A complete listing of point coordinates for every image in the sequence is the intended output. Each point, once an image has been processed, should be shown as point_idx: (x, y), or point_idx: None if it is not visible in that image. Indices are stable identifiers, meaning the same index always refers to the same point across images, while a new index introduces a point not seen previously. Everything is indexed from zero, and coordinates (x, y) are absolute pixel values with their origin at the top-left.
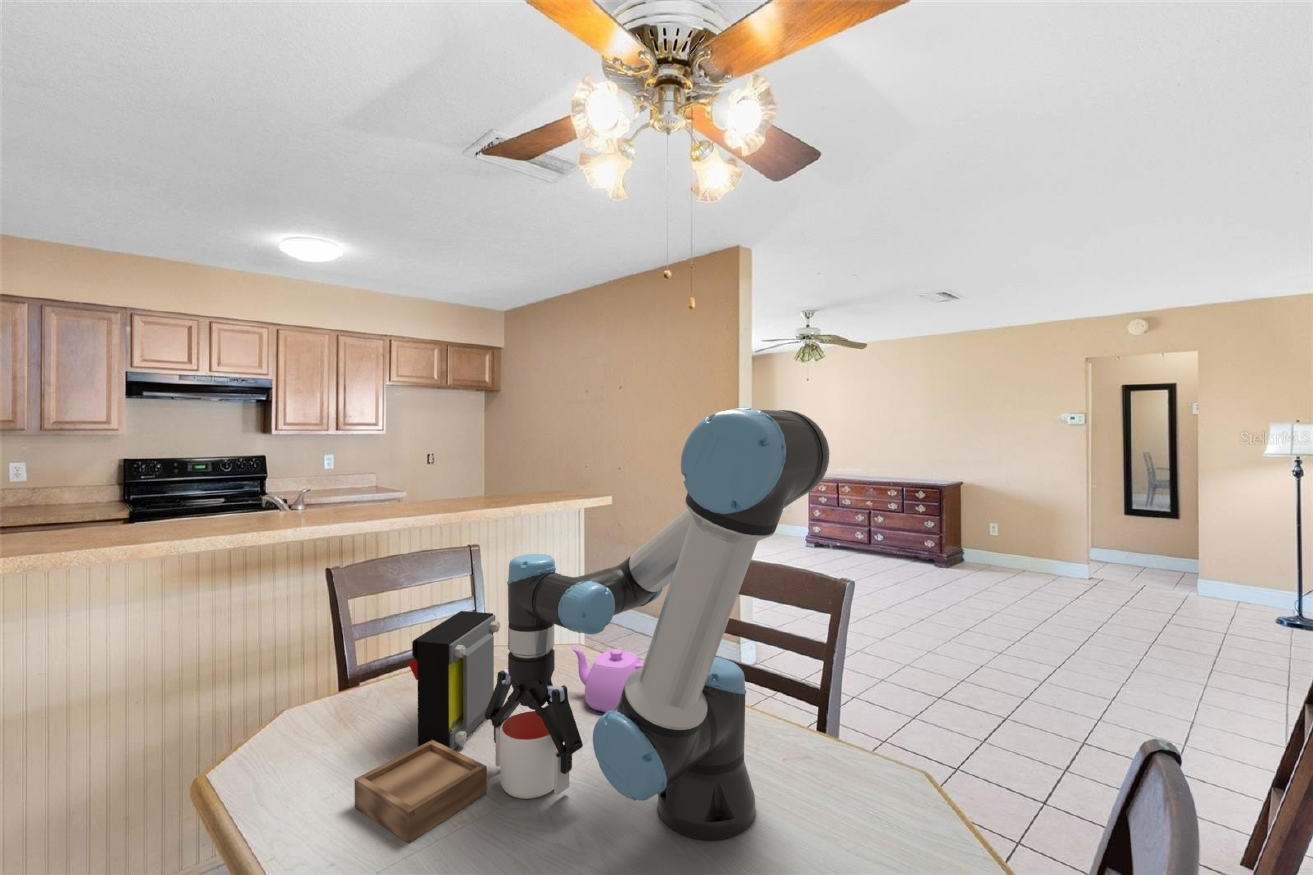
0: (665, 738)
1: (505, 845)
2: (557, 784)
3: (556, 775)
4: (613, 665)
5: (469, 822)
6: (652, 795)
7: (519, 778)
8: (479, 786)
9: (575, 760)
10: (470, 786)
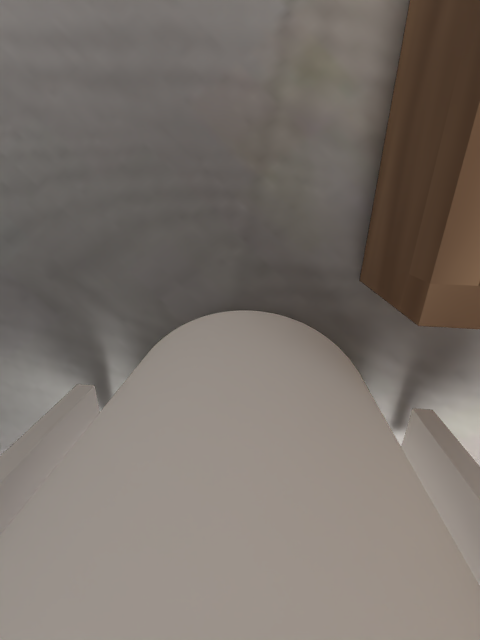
0: None
1: (28, 68)
2: (49, 411)
3: (26, 439)
4: None
5: (281, 79)
6: None
7: (176, 352)
8: (386, 247)
9: None
10: (416, 179)
